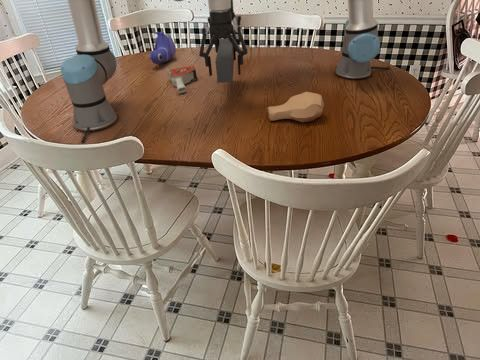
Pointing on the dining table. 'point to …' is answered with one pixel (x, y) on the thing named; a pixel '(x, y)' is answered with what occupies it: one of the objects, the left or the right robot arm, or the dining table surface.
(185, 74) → the tape dispenser
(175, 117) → the dining table surface
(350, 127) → the dining table surface
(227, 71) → the bar
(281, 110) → the squash
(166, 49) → the toy
